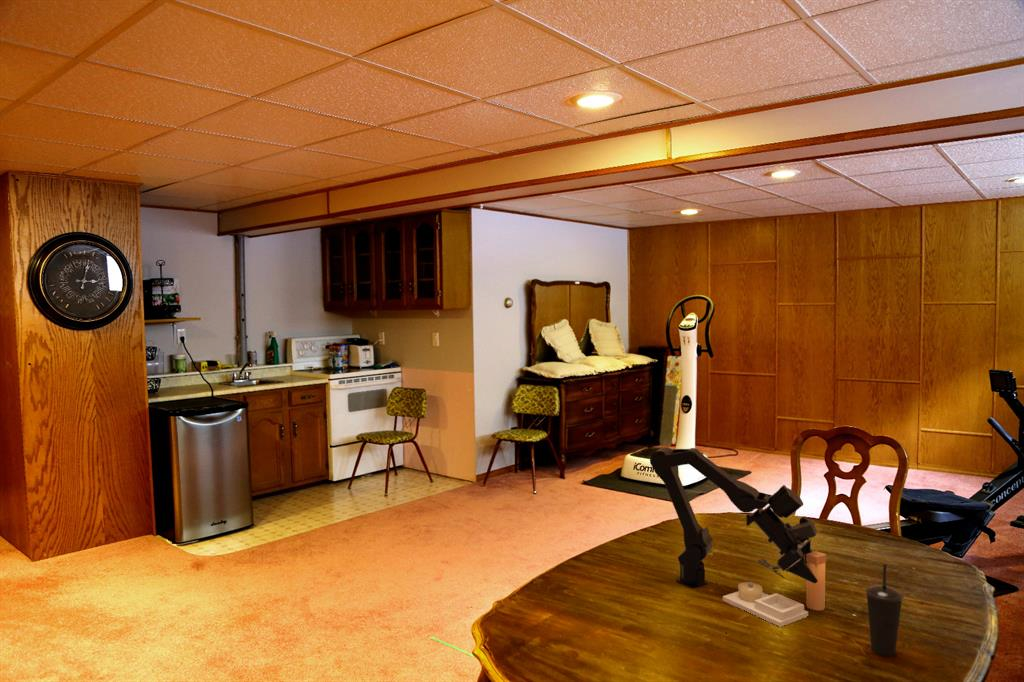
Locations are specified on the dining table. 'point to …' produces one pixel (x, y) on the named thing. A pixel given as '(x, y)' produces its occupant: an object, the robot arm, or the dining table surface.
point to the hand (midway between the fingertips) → (818, 576)
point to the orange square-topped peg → (816, 590)
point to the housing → (766, 604)
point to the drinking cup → (884, 616)
